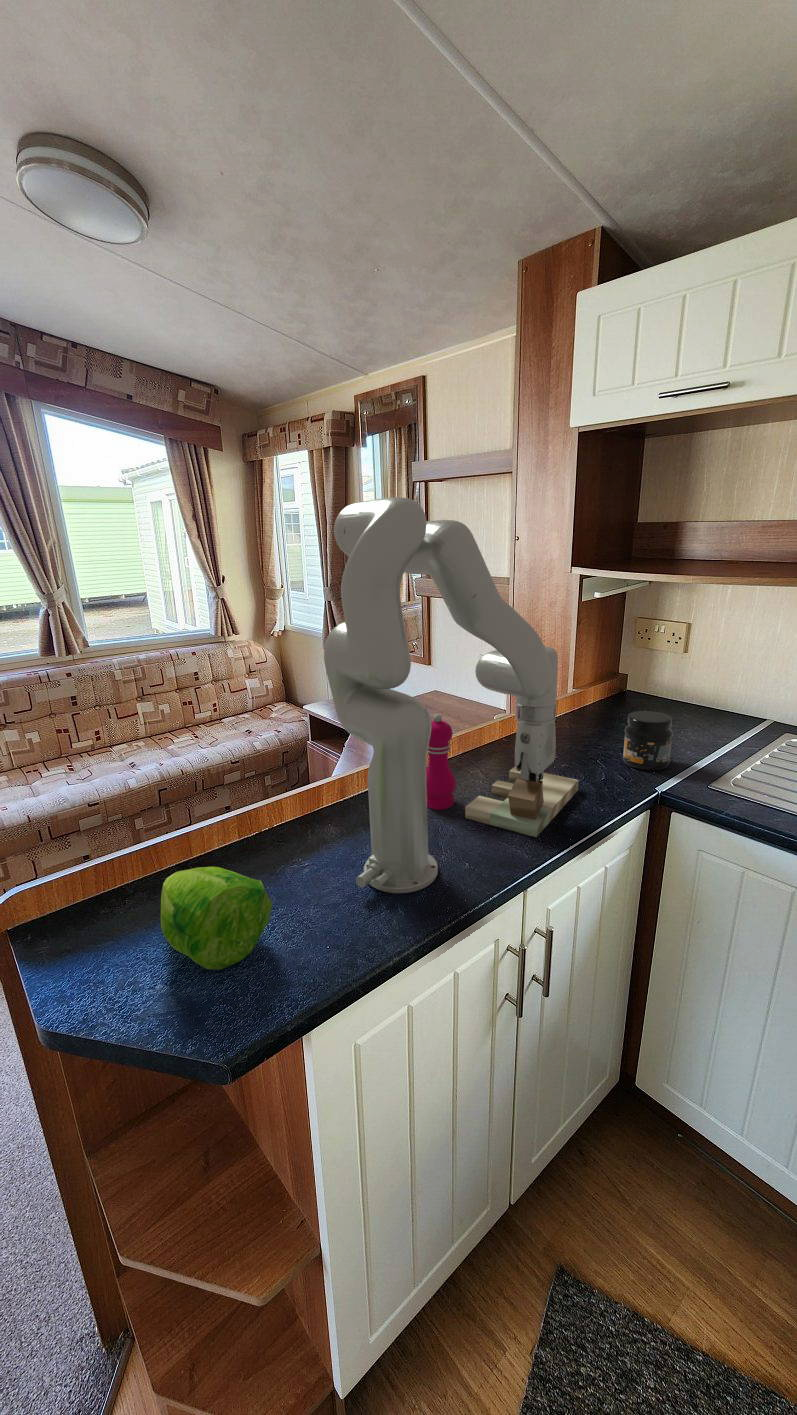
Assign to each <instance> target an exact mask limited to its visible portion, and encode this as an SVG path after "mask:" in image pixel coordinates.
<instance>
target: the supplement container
mask: <svg viewBox="0 0 797 1415" xmlns="http://www.w3.org/2000/svg"><path fill="white" fill-rule="evenodd" d="M672 721H673V719H672V717H671V716H670V715H668V714H665V713H662V712H657V711H648V710H647V711H646V710H640V711H633V712H631V713H629V714H628V715H627V725H626V726H625V727H624V743H623V753H622V754H623V755H622V759H623V762H624V763H625V764H626V765H627V766H629V767H631V768H634V769H636V770H641V771H649V772H654V771H655V772H656V771H661V770H664V769H666V768H667V767H668V766H669V765H670V763H671V762H670V761H671V760H670V757H671V748H672V740H673V739H672V738H673V737H674V736H673V735H674V732H673V730H672V729H671V727H672V723H673V722H672Z"/></svg>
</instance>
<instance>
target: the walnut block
mask: <svg viewBox="0 0 797 1415" xmlns="http://www.w3.org/2000/svg"><path fill="white" fill-rule="evenodd" d="M508 799H509V806H510V813H511V815H515V816H520V817H524V818H529V819H534V820H536V819H537V816H538V814H539V812H540V810H541V807H542V805H543V803H544V799H543V788H542V783H539V782H533V781H525V780H521V779H516V781H515V783H514V785H513V787H512V789H511V791H510V793H509V795H508Z"/></svg>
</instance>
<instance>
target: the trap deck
mask: <svg viewBox="0 0 797 1415" xmlns="http://www.w3.org/2000/svg"><path fill="white" fill-rule="evenodd" d="M520 774H521V770H520V771H517V770H516V768H515V766H514V767H512V768H511V769H510V770H508V779H507V780H506V781H503V780H496V781H495V782H494V783H492V785H491V794H489V795H488V796H483V795H478V796H477V797H476V798H474V799H473V800H471V802H469V803H468V804H467V805H466V806H465V807H464V808H465V809H464V810H465V811H464V814H465V819H468V820H472V821H476V822H479V823H483V824H486V825H490V826H494V827H497V828H500V829H501V828H502V829H504V830H508V831H513V832H515V833H519V834H523V835H525V836H530V837H534V838H537V837H538V836H539V835H540V834H541V833H542V832H543V831H544V829H545V828H546V827H547V826H548V825H549V824H550V823H551V821H552V820H553V819H554V818H555V817H556V816H557V815H558V814H559V812H560V811H561V810H562V809H563V808H564V806H566V805H567V803H569V801H570V800H571V799H572V798H573V796H574V795H575V794H576V793H577V792H578V791H579V779H575V778H571V777H566V776H563V775H557V774H552V773H548V772H547V773H546V772H544V776H543V780H541V781H543V786H542V788H543V799H544V803H543V805H542V807H541V810H540V812H539V814H538V816H537V819H536V820H534V819H529V818H524V817H520V816H515V815H511V813H510V806H509V799H508V795H509V793H510V791H511V789H512V787H513V785H514V783H515V781H516V779H520Z"/></svg>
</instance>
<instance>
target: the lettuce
mask: <svg viewBox="0 0 797 1415" xmlns="http://www.w3.org/2000/svg"><path fill="white" fill-rule="evenodd" d="M273 904H274V903H273V901H272V900H271V898H270V897H269V895H268V893H267V891H266V889H265V887H264V885H263V882H262V880H259V879H255V878H251V877H248V876H246V875H242V874H241V873H238V872H235V871H232V870H228V869H225V868H223V867H220V866H219V867H218V866H204V867H194V868H190V869H184V870H179V871H175V872H174V873H172V874H171V875H169V876H168V877H166V878H165V880H164V882H163V884H162V889H161V897H160V927H161V929H160V930H161V932H162V933H163V935H164V938H165V940H166V941H167V942H168V943H169V945H170V946H171V947H172V948H173V949H174V950H176V951H178V952H179V953H181V954H182V955H185V956H187V957H188V958H190V960H192V961H193V962H194V963H196V964H197V965H199V966H201V967H202V968H204V969H206V970H220V971H221V970H223V969H225V968H227V967H230V966H233V965H235V964H237V963H239V962H241V961H242V960H243V959H244V958H246V957H247V956H248V955H249V954H251V953H252V951H253V950H254V949H255V947H256V946H257V944H258V942H259V939H260V937H261V936H262V934H263V932H264V930H265V929H266V927H267V926H268V924H269V922H270V917H271V914H272V908H273Z"/></svg>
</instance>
